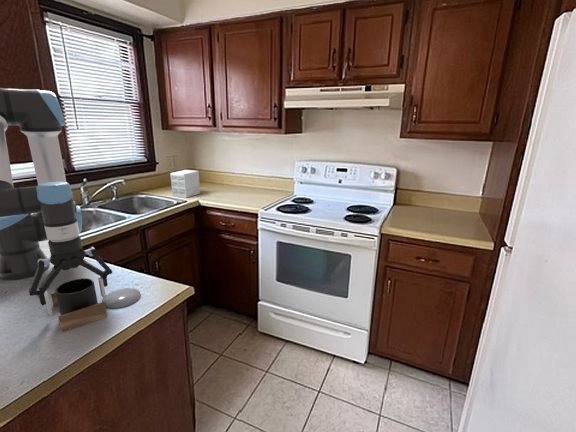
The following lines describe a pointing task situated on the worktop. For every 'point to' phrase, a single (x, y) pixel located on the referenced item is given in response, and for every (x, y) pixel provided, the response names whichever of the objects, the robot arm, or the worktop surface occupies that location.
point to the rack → (80, 315)
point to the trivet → (121, 298)
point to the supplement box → (185, 183)
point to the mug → (76, 295)
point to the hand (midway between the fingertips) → (78, 304)
